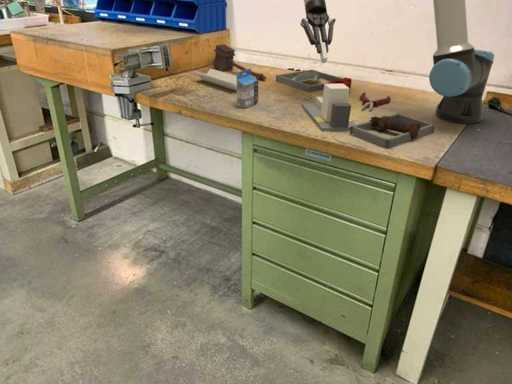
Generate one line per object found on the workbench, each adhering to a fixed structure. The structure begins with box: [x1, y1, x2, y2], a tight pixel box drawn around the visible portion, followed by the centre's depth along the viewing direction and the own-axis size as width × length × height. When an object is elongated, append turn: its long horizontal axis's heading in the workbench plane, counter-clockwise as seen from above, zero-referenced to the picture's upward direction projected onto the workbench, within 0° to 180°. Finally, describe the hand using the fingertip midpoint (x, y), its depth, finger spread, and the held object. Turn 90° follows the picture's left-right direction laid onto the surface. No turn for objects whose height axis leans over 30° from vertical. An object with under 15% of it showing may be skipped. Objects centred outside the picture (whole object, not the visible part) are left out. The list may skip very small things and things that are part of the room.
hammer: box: [212, 43, 267, 82], centre depth 192 cm, size 7×33×10 cm, turn 44°
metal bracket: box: [287, 69, 322, 86], centre depth 184 cm, size 14×6×15 cm
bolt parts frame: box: [349, 112, 436, 149], centre depth 130 cm, size 14×24×2 cm, turn 128°
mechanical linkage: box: [328, 77, 352, 95], centre depth 170 cm, size 16×7×5 cm, turn 150°
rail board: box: [301, 96, 357, 132], centre depth 141 cm, size 26×12×8 cm, turn 9°
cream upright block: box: [321, 84, 351, 122], centre depth 135 cm, size 6×6×11 cm
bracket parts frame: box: [275, 69, 343, 93], centre depth 183 cm, size 22×22×2 cm
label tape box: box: [236, 68, 259, 109], centre depth 149 cm, size 9×4×12 cm, turn 148°
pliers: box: [359, 92, 392, 112], centre depth 157 cm, size 12×20×3 cm, turn 155°
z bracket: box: [194, 68, 237, 92], centre depth 175 cm, size 12×25×6 cm
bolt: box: [369, 115, 420, 141], centre depth 130 cm, size 6×5×15 cm
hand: (324, 60), depth 146 cm, fingers closed
